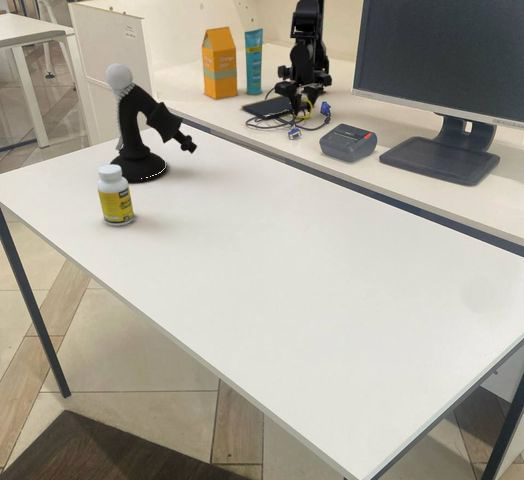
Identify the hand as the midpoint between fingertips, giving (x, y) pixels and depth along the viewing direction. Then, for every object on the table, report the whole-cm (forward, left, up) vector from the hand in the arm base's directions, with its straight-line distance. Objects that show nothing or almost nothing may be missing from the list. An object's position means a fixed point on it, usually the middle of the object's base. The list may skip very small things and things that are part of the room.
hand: (302, 113), depth 165 cm
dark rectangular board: (0, -12, -1) cm, 12 cm away
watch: (0, 0, -1) cm, 1 cm away
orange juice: (+6, -35, -1) cm, 36 cm away
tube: (-4, -29, -1) cm, 30 cm away
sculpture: (+56, +6, -1) cm, 56 cm away
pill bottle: (+75, +24, -1) cm, 79 cm away
